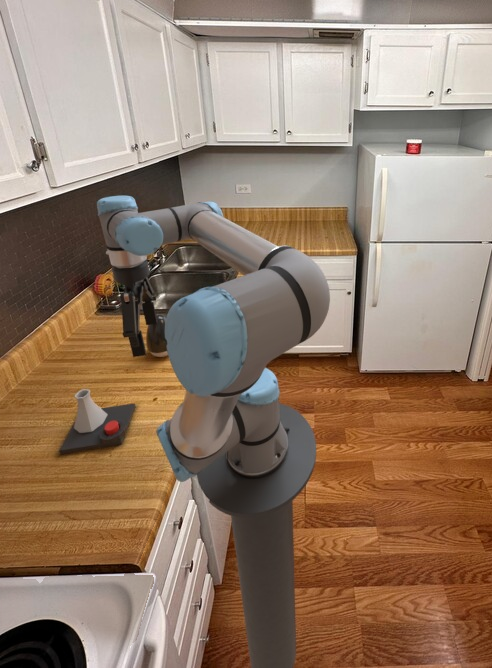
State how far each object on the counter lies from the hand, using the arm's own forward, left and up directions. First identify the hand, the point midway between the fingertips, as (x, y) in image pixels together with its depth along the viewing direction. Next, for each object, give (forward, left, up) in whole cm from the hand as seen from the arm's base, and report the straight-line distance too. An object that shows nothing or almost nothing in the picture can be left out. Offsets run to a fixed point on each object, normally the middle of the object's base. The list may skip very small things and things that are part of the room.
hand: (146, 338), depth 85 cm
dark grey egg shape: (+5, -27, -25) cm, 37 cm away
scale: (+15, +3, -25) cm, 29 cm away
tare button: (+10, +6, -22) cm, 26 cm away
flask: (+17, +1, -24) cm, 30 cm away
